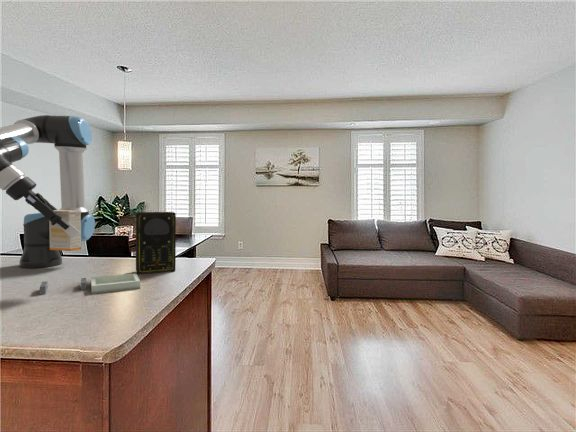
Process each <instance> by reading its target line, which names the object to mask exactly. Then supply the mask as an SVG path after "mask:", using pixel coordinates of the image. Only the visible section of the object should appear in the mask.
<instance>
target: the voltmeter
mask: <svg viewBox="0 0 576 432" xmlns="http://www.w3.org/2000/svg"><path fill="white" fill-rule="evenodd" d="M176 214H177V213H175V212H174V211H136V212H135V213H134V216H135V217H134V226H135V271H136V274H137V275H148V274H159V273H167V272H168V273H170V272H175V271H176V256H177V255H176V253H177V252H176V244H177V243H176V242H177V241H176V239H177V238H176V228H177V227H176V217H177V216H176Z"/></svg>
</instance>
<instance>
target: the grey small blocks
mask: <svg viewBox="0 0 576 432" xmlns="http://www.w3.org/2000/svg"><path fill="white" fill-rule="evenodd" d="M48 283H49V282H48V281H41V284H40V285H39V295H46V294H47V291H48ZM80 290H81V291H86V290H87V277H81V278H80Z"/></svg>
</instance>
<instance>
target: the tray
mask: <svg viewBox="0 0 576 432" xmlns="http://www.w3.org/2000/svg"><path fill="white" fill-rule="evenodd" d="M90 281H91V282H90V283H91V294H92V295H93V294H101V293H109V292H118V291H119V292H120V291H129V290H137V289H141V279H140V277H139V276H138V274H137V273H127V274H126V273H125V274H115V275H106V276H105V275H104V276H92V277H91V279H90Z"/></svg>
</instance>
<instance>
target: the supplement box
mask: <svg viewBox="0 0 576 432" xmlns="http://www.w3.org/2000/svg"><path fill="white" fill-rule="evenodd" d="M53 211H54V212H56V213H57V214H58V215H59V216H61V218H64V219H65V220H66V221H67V222H68V223H70V224H71V225H72V226H73V227H75V228H76V229H77V230H78V231H79V232H80V233H79V234H77V235H76V236H75V237H74V238H72V237H71V236H69V235H68V234H67V233H66V232H64V231H63V230H62V229H61V228H59V227H58V226H57V225H56V224H55V225H54V226H53V225H52V224H51V223H52V222H50V220H49V232H50V250H59V251H63V252H65V251H66V252H73V251H80V250H82V241H81V211H76V210H60V209H57V210H53Z"/></svg>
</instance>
